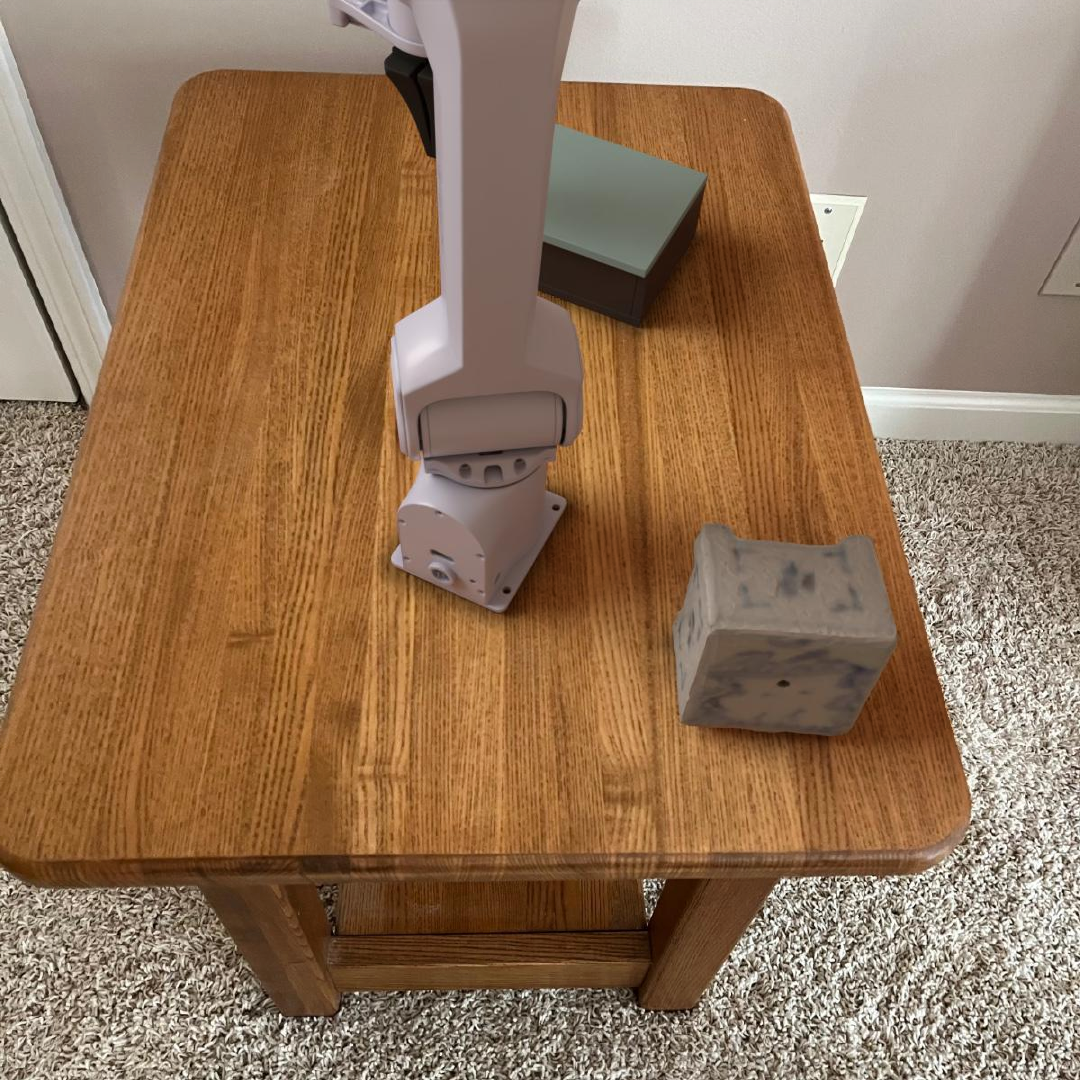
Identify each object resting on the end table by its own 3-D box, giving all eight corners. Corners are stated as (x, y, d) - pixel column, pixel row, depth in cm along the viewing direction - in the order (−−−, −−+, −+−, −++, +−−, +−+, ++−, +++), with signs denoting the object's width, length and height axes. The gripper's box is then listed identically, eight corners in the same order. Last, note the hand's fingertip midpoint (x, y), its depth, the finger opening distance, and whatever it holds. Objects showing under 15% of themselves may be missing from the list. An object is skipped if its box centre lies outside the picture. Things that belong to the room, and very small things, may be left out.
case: (639, 328, 74) (648, 273, 69) (479, 268, 76) (478, 212, 72) (694, 238, 80) (706, 182, 75) (544, 185, 82) (547, 129, 78)
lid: (644, 278, 69) (646, 270, 68) (473, 216, 71) (473, 208, 71) (706, 182, 75) (708, 174, 74) (547, 128, 78) (547, 120, 77)
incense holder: (828, 618, 61) (885, 523, 52) (844, 745, 56) (909, 665, 47) (669, 607, 60) (700, 510, 52) (672, 734, 56) (706, 651, 47)
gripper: (575, -55, 57) (561, 151, 68) (360, -117, 60) (381, 90, 71) (520, 1, 53) (515, 209, 65) (295, -68, 56) (327, 142, 68)
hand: (441, 150), depth 68 cm, fingers closed
